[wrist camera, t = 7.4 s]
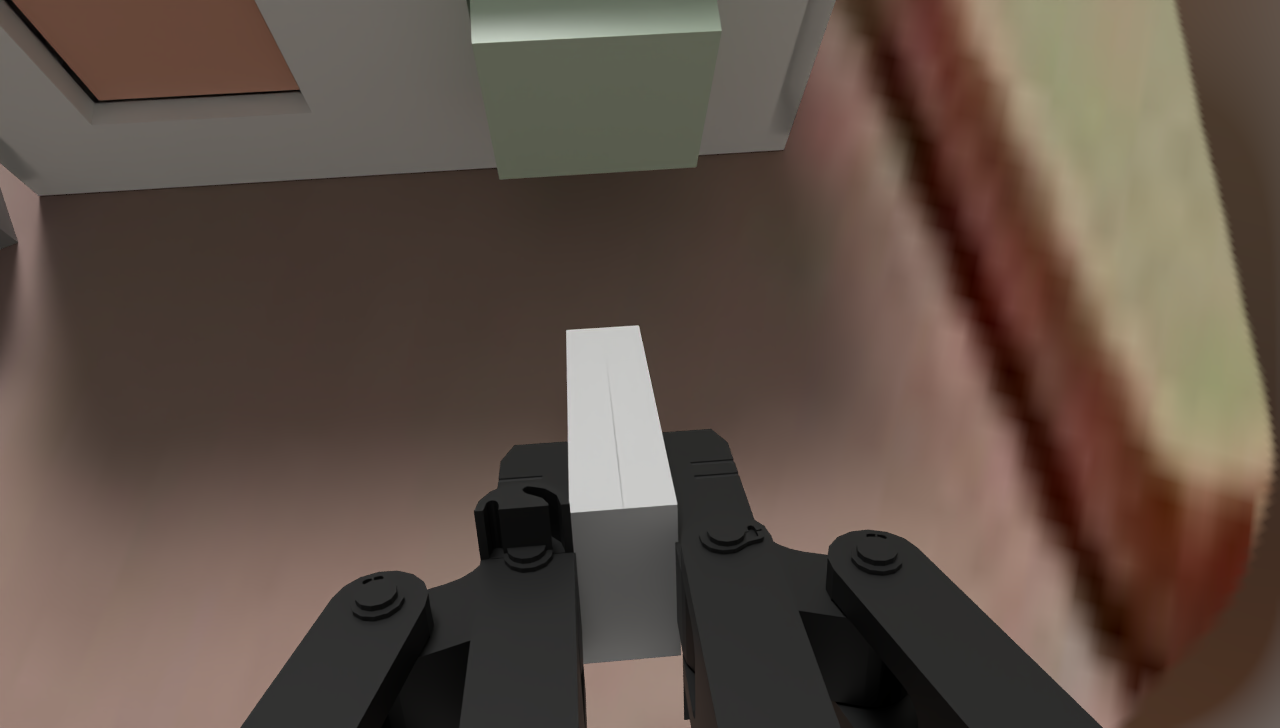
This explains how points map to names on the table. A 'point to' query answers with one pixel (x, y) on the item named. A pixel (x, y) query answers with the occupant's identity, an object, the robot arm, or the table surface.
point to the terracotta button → (163, 46)
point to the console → (351, 100)
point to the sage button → (594, 83)
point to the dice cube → (6, 226)
